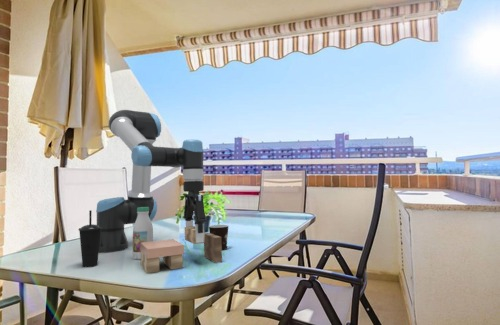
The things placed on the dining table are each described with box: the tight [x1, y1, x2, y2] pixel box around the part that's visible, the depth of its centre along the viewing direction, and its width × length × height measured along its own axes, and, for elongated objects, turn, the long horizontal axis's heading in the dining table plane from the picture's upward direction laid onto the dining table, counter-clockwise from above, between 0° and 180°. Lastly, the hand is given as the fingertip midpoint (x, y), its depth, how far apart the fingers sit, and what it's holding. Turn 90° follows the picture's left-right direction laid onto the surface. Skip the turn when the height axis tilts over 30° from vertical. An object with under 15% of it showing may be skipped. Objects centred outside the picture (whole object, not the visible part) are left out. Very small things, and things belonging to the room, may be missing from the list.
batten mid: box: [163, 254, 184, 270], centre depth 111 cm, size 11×4×5 cm, turn 29°
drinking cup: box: [78, 210, 102, 268], centre depth 114 cm, size 8×8×20 cm
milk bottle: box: [132, 207, 154, 260], centre depth 125 cm, size 8×8×20 cm
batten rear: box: [140, 252, 160, 274], centre depth 107 cm, size 11×4×5 cm, turn 29°
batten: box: [184, 225, 206, 245], centre depth 115 cm, size 11×4×5 cm, turn 29°
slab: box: [140, 238, 185, 259], centre depth 110 cm, size 14×12×3 cm
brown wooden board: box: [203, 232, 223, 264], centre depth 119 cm, size 12×2×9 cm, turn 29°
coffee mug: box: [208, 224, 229, 251], centre depth 136 cm, size 12×9×10 cm
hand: (194, 240), depth 115 cm, fingers closed on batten, 11 cm apart
